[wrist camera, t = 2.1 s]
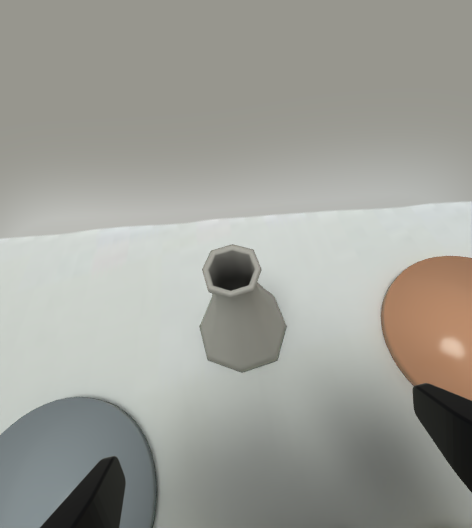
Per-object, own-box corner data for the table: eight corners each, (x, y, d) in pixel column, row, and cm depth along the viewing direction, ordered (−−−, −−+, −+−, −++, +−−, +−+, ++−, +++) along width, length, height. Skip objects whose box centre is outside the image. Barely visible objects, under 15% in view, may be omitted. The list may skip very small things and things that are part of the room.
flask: (196, 372, 22) (154, 334, 14) (203, 289, 26) (174, 218, 18) (289, 373, 22) (306, 334, 13) (283, 287, 26) (294, 214, 17)
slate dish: (196, 513, 18) (193, 517, 17) (-5, 750, 14) (-22, 771, 13) (95, 362, 23) (89, 359, 23) (-70, 502, 19) (-85, 505, 19)
